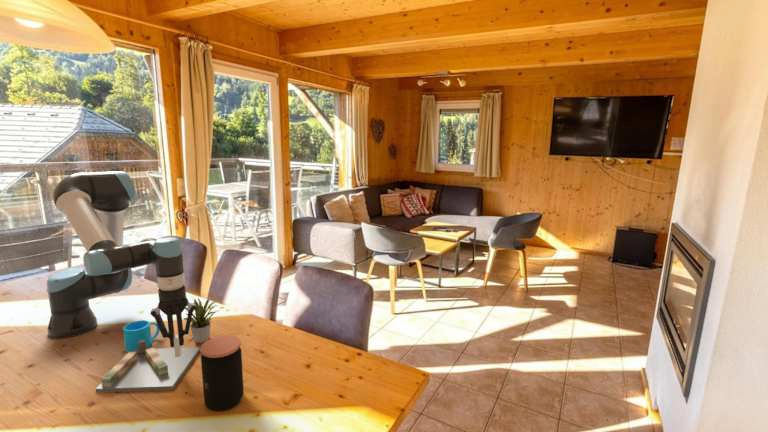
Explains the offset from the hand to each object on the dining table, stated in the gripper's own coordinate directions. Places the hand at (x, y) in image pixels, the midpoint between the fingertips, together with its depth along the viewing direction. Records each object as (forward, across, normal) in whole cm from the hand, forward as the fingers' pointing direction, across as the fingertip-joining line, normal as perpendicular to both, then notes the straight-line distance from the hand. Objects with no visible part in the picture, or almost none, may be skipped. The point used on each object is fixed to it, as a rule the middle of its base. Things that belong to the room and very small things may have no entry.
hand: (178, 354), depth 125 cm
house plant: (+6, +7, +18) cm, 21 cm away
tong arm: (+4, -7, +4) cm, 9 cm away
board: (+6, -8, +3) cm, 10 cm away
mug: (+6, -13, +23) cm, 27 cm away
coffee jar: (+6, +13, -21) cm, 26 cm away
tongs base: (+4, -15, +6) cm, 17 cm away
